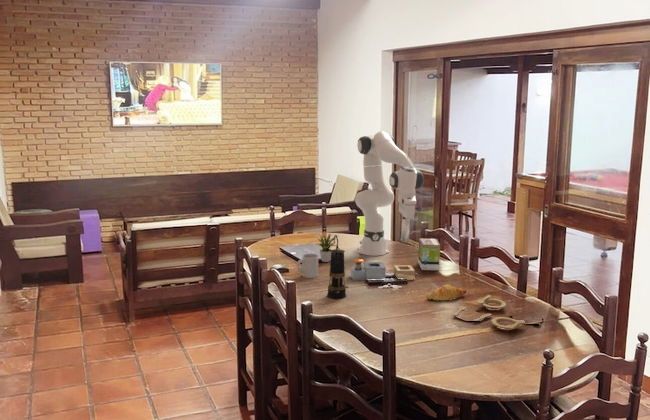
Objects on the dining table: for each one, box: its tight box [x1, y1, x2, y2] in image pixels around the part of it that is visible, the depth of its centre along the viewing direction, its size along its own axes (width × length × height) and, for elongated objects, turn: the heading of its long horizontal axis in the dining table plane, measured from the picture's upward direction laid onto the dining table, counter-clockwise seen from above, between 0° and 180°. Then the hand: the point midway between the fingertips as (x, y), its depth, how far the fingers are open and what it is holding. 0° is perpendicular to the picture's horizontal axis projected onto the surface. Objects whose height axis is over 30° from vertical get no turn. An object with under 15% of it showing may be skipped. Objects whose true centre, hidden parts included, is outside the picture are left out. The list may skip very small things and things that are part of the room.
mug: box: [296, 253, 319, 279], centre depth 323 cm, size 12×8×11 cm
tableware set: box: [452, 294, 525, 330], centre depth 268 cm, size 35×29×4 cm
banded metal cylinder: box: [400, 214, 411, 243], centre depth 319 cm, size 4×4×14 cm
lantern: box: [326, 234, 349, 300], centre depth 291 cm, size 9×9×30 cm
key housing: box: [350, 266, 366, 281], centre depth 321 cm, size 7×7×5 cm
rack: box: [393, 264, 416, 281], centre depth 323 cm, size 10×9×5 cm
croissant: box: [425, 283, 467, 301], centre depth 292 cm, size 21×10×8 cm
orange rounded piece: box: [353, 258, 364, 270], centre depth 321 cm, size 5×5×9 cm
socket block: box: [362, 261, 387, 281], centre depth 322 cm, size 10×10×7 cm
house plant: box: [315, 232, 336, 263], centre depth 350 cm, size 14×14×16 cm
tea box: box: [417, 238, 441, 271], centre depth 342 cm, size 15×10×15 cm, turn 179°
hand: (405, 224), depth 318 cm, fingers closed on banded metal cylinder, 4 cm apart
